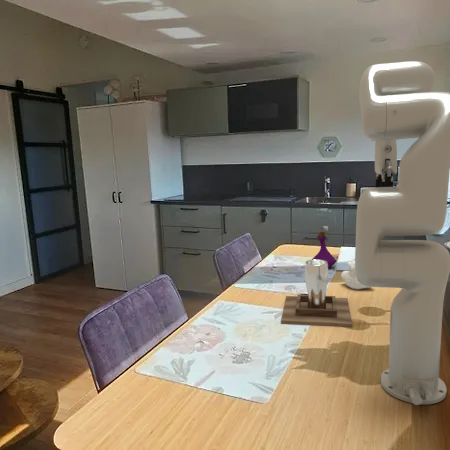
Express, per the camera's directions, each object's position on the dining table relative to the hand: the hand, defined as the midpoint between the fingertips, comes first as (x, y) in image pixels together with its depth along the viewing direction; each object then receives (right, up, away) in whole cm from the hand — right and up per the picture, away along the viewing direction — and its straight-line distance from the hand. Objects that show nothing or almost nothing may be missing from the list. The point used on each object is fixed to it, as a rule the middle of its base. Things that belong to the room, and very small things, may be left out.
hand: (383, 193), depth 122 cm
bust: (-1, -32, +23) cm, 40 cm away
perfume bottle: (-6, -28, +49) cm, 56 cm away
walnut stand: (-19, -37, +4) cm, 42 cm away
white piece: (-19, -36, +4) cm, 41 cm away
